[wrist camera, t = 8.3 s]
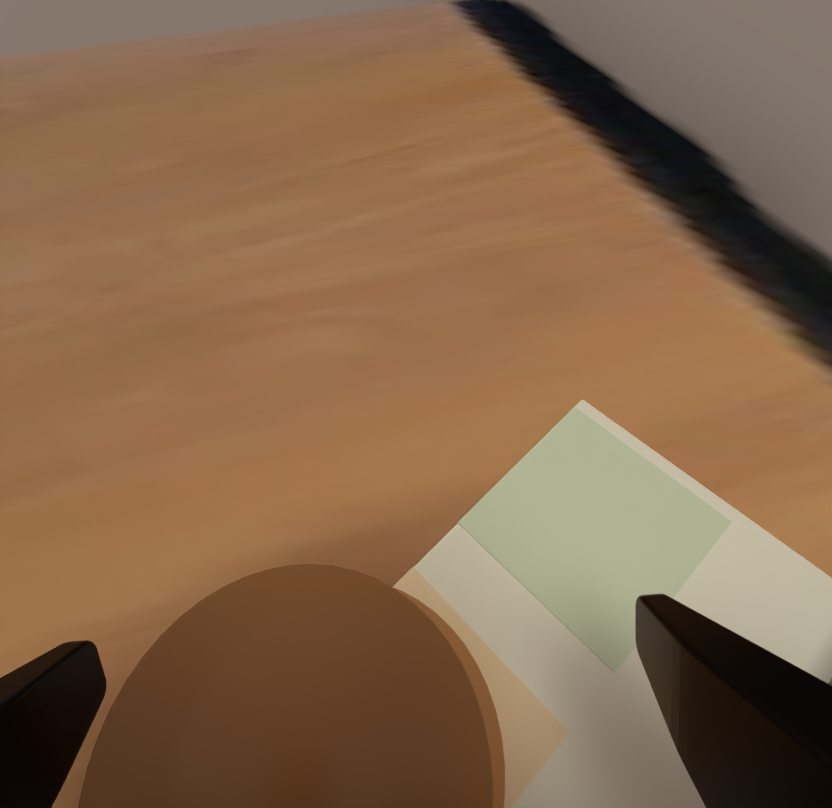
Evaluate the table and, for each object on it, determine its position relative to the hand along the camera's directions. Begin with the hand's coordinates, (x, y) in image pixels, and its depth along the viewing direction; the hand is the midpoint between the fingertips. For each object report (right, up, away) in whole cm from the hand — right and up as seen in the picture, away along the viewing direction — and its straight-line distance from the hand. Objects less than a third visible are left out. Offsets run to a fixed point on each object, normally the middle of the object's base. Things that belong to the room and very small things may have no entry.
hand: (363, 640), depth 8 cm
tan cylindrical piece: (+1, -5, +5) cm, 7 cm away
